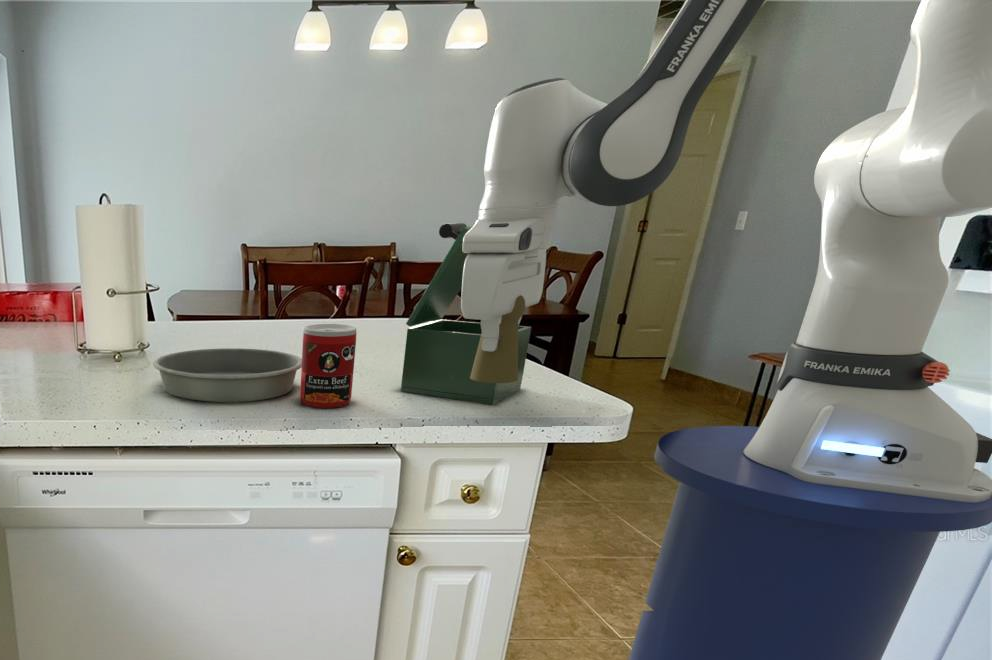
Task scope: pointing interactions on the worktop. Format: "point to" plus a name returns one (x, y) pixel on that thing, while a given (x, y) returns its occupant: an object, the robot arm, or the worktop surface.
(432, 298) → the bin lid
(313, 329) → the canned food
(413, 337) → the waste bin
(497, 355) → the tan pawn
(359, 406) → the worktop surface
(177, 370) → the cake pan
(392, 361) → the worktop surface
